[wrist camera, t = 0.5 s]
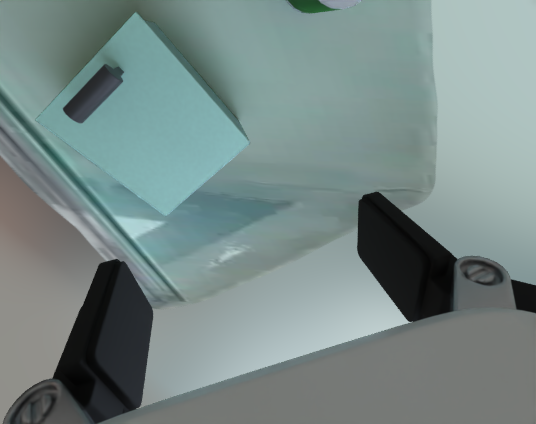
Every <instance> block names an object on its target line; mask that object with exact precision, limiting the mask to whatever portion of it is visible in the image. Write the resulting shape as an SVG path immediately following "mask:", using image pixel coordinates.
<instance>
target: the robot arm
mask: <svg viewBox="0 0 536 424" xmlns="http://www.w3.org/2000/svg"><path fill="white" fill-rule="evenodd" d="M357 250H358V254H359V256H360V258H361V259H362V261H363V262H364V263H365V265H366V266H367V267H368V269H369V270H370V271H371V273H372V274H373V275H374V277H375V278H376V279H377V281H378V282H379V283H380V285H381V286H382V287H383V289H384V290H385V291H386V293H387V294H388V295H389V297H390V298H391V299H392V300H393V302H394V303H395V305H396V306H397V307H398V309H399V310H400V311H401V312H402V314H403V315H404V317H405V318H406V319H407V320H408V321H409V322H412V321H413V322H412V323H408V324H404V325H401V326H397V327H394V328H391V329H388V330H384V331H381V332H378V333H375V334H371V335H368V336H365V337H362V338H358V339H355V340H352V341H349V342H345V343H342V344H339V345H336V346H332V347H329V348H326V349H323V350H320V351H316V352H313V353H310V354H307V355H304V356H300V357H297V358H294V359H291V360H287V361H284V362H281V363H278V364H275V365H272V366H268V367H265V368H262V369H259V370H256V371H253V372H249V373H246V374H243V375H240V376H237V377H234V378H231V379H227V380H224V381H221V382H218V383H215V384H212V385H209V386H206V387H203V388H199V389H196V390H193V391H190V392H187V393H184V394H181V395H177V396H174V397H171V398H168V399H165V400H162V401H159V402H157V403H153V404H151V405H148V406H145V407H142V408H139V407H140V405H141V402H142V395H143V388H144V381H145V373H146V365H147V358H148V351H149V343H150V336H151V328H152V321H153V310H152V307H151V305H150V304H149V302H148V300H147V298H146V297H145V295H144V293H143V292H142V290H141V288H140V286H139V285H138V283H137V281H136V280H135V278H134V276H133V274H132V273H131V271H130V269H129V268H128V266H127V264H126V263H125V262H124V261H122V262H120V261H119V260H118V259H115V260H111V261H107V262H103V263H101V264H99V266H98V269H97V271H96V274H95V276H94V279H93V281H92V284H91V286H90V289H89V291H88V294H87V296H86V299H85V301H84V304H83V306H82V307H81V309H80V311H79V314H78V316H77V318H76V321H75V323H74V326H73V328H72V331H71V333H70V336H69V339H68V341H67V343H66V346H65V348H64V351H63V353H62V356H61V358H60V361H59V363H58V366H57V368H56V371H55V373H54V376H53V378H52V379H48V380H44V381H41V382H39V383H37V384H35V385H33V386H32V387H31V388H29V389H28V390H26V391H25V392H24V393H23V394H22V395H21V396H20V397H19V398H18V399H17V400H16V401H15V402H14V404H13V405H12V407H10V409H9V410H8V412H7V414H6V416H5V418H4V421H3V424H536V285H532V284H528V283H524V282H520V281H515V280H511V279H510V276H509V274H508V272H507V271H506V270H505V269H504V268H503V266H501V265H500V264H498V263H497V262H495V261H492V260H490V259H488V258H484V257H480V256H465V257H462V258H459V259H457V258H456V257H454V256H453V255H452V254H451V253H450V252H449V251H448V250H447V249H446V248H444V247H443V246H442V245H441V244H440V243H438V242H437V241H436V240H435V239H434V238H433V237H431V236H430V235H429V234H428V233H426V232H425V231H424V230H423V229H422V228H421V227H420V226H418V225H417V224H416V223H415V222H414V221H412V220H411V219H410V218H409V217H408V216H407V215H405V214H404V213H403V212H402V211H401V210H399V209H398V208H397V207H396V206H395V205H394V204H392V203H391V202H390V201H389V200H388V199H386V198H385V197H384V196H383V195H382V194H381V193H379V192H374V193H370V194H366V195H363V197H362V199H361V200H359V208H358V245H357ZM136 408H139V409H136Z"/></svg>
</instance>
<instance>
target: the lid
mask: <svg viewBox="0 0 536 424" xmlns="http://www.w3.org/2000/svg"><path fill="white" fill-rule="evenodd" d="M35 121H37V122H38V123H40V124H41V125H42V126H44V127H45V128H46V129H48V130H49V131H50V132H52V133H53V134H54V135H56V136H57V137H58V138H60V139H61V140H63V141H64V142H65V143H67V144H68V145H69V146H71V147H72V148H73V149H75V150H76V151H77V152H79V153H80V154H81V155H83V156H84V157H86V158H87V159H88V160H90V161H91V162H92V163H94V164H95V165H96V166H98V167H99V168H100V169H102V170H103V171H104V172H106V173H107V174H108V175H110V176H111V177H113V178H114V179H115V180H117V181H118V182H119V183H121V184H122V185H123V186H125V187H126V188H127V189H129V190H130V191H131V192H133V193H134V194H136V195H137V196H138V197H140V198H141V199H142V200H144V201H145V202H146V203H148V204H149V205H150V206H152V207H153V208H154V209H156V210H157V211H159V212H160V213H161V214H163V215H164V216H167V215H168V214H169V213H170V212H171V211H172V210H174V209H175V208H176V207H177V206H178V205H179V204H181V203H182V202H183V201H184V200H185V199H186V198H187V197H189V196H190V195H191V194H192V193H193V192H194V191H196V190H197V189H198V188H199V187H200V186H201V185H203V184H204V183H205V182H206V181H207V180H208V179H209V178H211V177H212V176H213V175H214V174H215V173H216V172H218V171H219V170H220V169H221V168H222V167H223V166H225V165H226V164H227V163H228V162H229V161H230V160H231V159H233V158H234V157H235V156H236V155H237V154H238V153H240V152H241V151H242V150H243V149H244V148H245V147H247V146H248V145H249V144H250V141H249V140H248V139H247V138H246V136H245V135H244V134H243V133H242V132H241V131H240V130H239V128H238V127H237V126H236V125H235V124H234V123H233V121H232V120H231V119H230V118H229V117H228V116H227V115H226V113H225V112H224V111H223V110H222V109H221V108H220V107H219V105H218V104H217V103H216V102H215V101H214V100H213V99H212V97H211V96H210V95H209V94H208V93H207V92H206V91H205V89H204V88H203V87H202V86H201V85H200V84H199V82H198V81H197V80H196V79H195V78H194V77H193V76H192V74H191V73H190V72H189V71H188V70H187V69H186V68H185V66H184V65H183V64H182V63H181V62H180V61H179V60H178V58H177V57H176V56H175V55H174V54H173V53H172V51H171V50H170V49H169V48H168V47H167V46H166V45H165V43H164V42H163V41H162V40H161V39H160V38H159V37H158V35H157V34H156V33H155V32H154V31H153V30H152V29H151V27H150V26H149V25H148V24H147V23H146V22H145V21H144V19H143V18H142V17H141V16H140V15H139V14H138V12H135V13H134V14H133V15H132V16H131V17H130V18H129V19H128V20H127V21H126V22H125V24H124V25H123V26H122V27H121V28H120V29H119V30H118V31H117V32H116V33H115V34H114V35H113V36H112V38H111V39H110V40H109V41H108V42H107V43H106V44H105V45H104V46H103V47H102V48H101V49H100V50H99V52H98V53H97V54H96V55H95V56H94V57H93V58H92V59H91V60H90V61H89V62H88V63H87V64H86V65H85V67H84V68H83V69H82V70H81V71H80V72H79V73H78V74H77V75H76V76H75V77H74V78H73V79H72V81H71V82H70V83H69V84H68V85H67V86H66V87H65V88H64V89H63V90H62V91H61V92H60V93H59V95H58V96H57V97H56V98H55V99H54V100H53V101H52V102H51V103H50V104H49V105H48V106H47V107H46V109H45V110H44V111H43V112H42V113H41V114H40V115H39V116H38V117H37V118H36V119H35Z"/></svg>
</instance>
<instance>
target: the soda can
mask: <svg viewBox="0 0 536 424" xmlns="http://www.w3.org/2000/svg"><path fill="white" fill-rule="evenodd" d="M286 1H287V2H288V3H289V4H290V5H291V6H292V8H293V9H295V10H297V11H299V12H301V13H318V12H325V11H332V10H340V9H345V8H348V7H352V6H355V5H356V4H358V3H359V2H360V1H362V0H286Z"/></svg>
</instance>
